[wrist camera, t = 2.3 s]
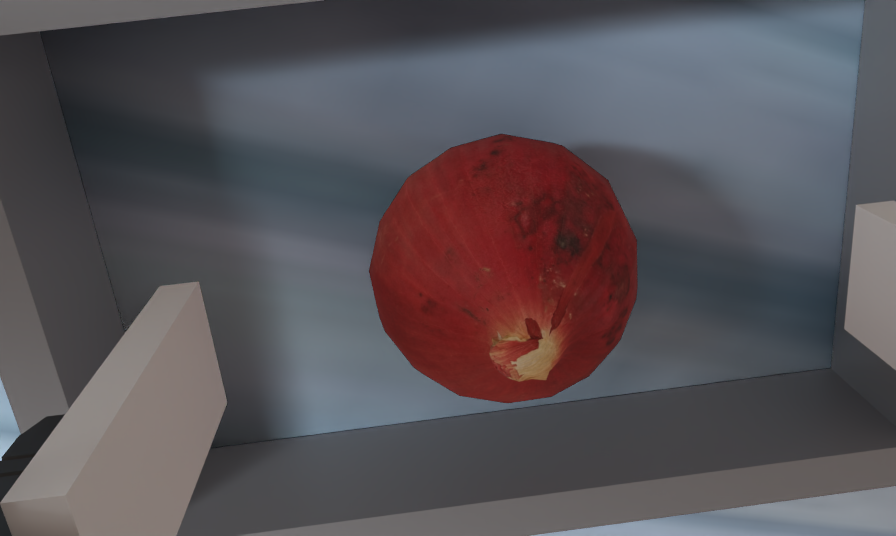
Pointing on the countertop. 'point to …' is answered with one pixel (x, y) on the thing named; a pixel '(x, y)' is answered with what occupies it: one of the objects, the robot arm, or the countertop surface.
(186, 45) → the countertop surface
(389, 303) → the onion
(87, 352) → the bin
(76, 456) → the robot arm
